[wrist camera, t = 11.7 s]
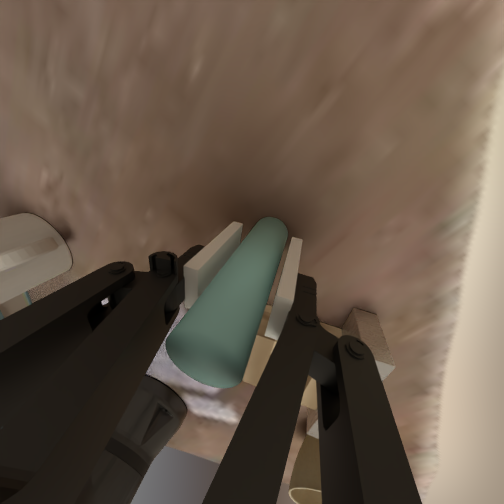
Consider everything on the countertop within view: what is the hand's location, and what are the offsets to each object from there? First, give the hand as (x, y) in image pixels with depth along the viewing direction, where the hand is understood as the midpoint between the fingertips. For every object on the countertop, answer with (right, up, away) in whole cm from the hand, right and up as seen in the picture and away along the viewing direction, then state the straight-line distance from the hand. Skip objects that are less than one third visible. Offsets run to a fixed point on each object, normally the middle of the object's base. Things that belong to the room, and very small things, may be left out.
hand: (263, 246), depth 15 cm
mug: (-28, +1, +12) cm, 31 cm away
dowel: (+1, +1, +2) cm, 3 cm away
